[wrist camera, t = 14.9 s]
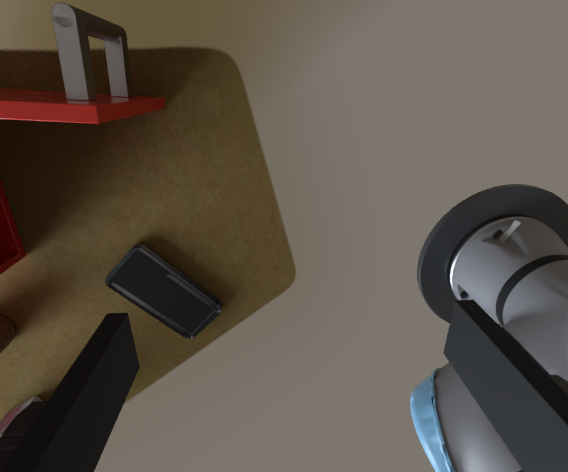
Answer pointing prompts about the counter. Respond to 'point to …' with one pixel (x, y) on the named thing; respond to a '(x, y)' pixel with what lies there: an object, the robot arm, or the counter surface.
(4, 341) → the utensil holder
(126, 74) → the red cabinet door
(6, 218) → the cabinet
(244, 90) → the counter surface
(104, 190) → the counter surface
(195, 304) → the phone
